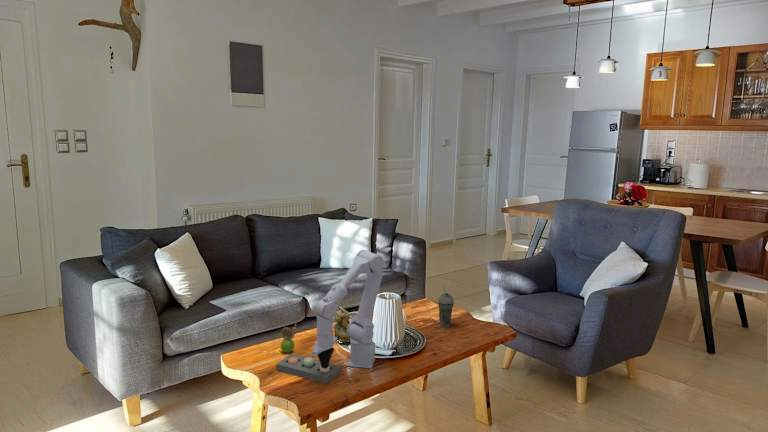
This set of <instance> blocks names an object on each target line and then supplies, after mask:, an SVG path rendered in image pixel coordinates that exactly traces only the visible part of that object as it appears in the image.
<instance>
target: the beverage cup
mask: <svg viewBox="0 0 768 432" xmlns="http://www.w3.org/2000/svg"><path fill="white" fill-rule="evenodd" d="M437 303H438V311H439V312H438V313H439V314H438V316H439V327H441V328H443V329H449V328H450V327H451V322H452V316H453V315H452V312H453V308H454V305H455V301H454V297H453V296H452V295H451V294H449V293H448V292H447V293H446V284H445V283H444V284H443V293H442V294H441V295H440V296H439V298H438V301H437Z"/></svg>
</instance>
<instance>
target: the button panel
mask: <svg viewBox="0 0 768 432" xmlns="http://www.w3.org/2000/svg"><path fill="white" fill-rule="evenodd" d="M290 357H297V358H298V363H296V364H295V365H294V364H290V363H288V359H289V358H290ZM306 357H307V356H303V355H300V354H299V355H298V354H295V353H290V354H289V355H287V356H286V357H285V358H283V359H281V360H280V361H279V362H277V363H276V371H277V372H282V373H285V374H288V375H292V376H297V377H300V378H303V379H307V380H311V381H314V382H319V383H322V384H326V385H328V384H329V383H330V382H331V381H332V380H333V379H335V378H337V376H338V375H339V374H341V372H342V366H341V365H338V364H335V363H334V364H333V363H330V362H329V366H330V371H329V372H327V373H325V372H321V371H320V366H321V363H320V360H318V359H314V358H313V359H314V366H313V367H312V368H311V369H309V368H306V367H304V358H306Z"/></svg>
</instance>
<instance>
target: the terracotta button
mask: <svg viewBox="0 0 768 432" xmlns="http://www.w3.org/2000/svg"><path fill="white" fill-rule="evenodd" d="M288 363H290V364H294V365H295V364H296V363H298V358H297V357H290V358H289V359H288Z"/></svg>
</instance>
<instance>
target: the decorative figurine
mask: <svg viewBox="0 0 768 432" xmlns="http://www.w3.org/2000/svg"><path fill="white" fill-rule="evenodd" d="M350 317H351V314H350V313H349V312H348V311H347V310H346V309H345V308H343V306H341V305H338V308H337V311H336V314H335V315H334V316H333V320H335V322H336V323H335V324H333V330H334V337H337V340H339V341H340V342H348V341H350V342H351V340H350V337H349V336H348V335H347V327H348V325H349V324H350V322H351V320H350Z"/></svg>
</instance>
